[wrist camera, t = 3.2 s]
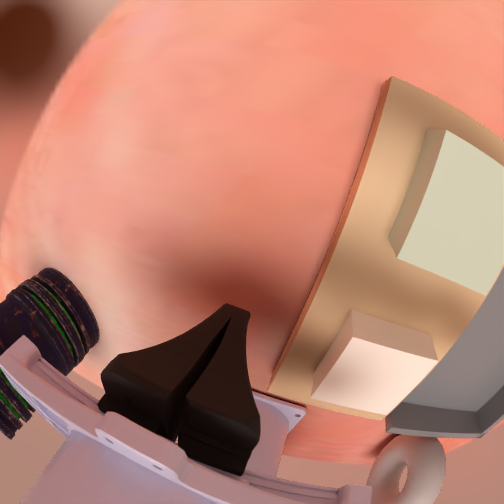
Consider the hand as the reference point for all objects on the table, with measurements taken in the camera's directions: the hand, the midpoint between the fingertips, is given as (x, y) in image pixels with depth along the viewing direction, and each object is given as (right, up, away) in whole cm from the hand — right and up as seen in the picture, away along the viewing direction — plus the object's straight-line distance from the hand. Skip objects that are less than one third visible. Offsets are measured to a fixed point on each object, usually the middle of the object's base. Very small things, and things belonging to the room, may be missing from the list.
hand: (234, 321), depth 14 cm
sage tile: (+10, +5, -5) cm, 12 cm away
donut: (+15, -14, +6) cm, 22 cm away
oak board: (+9, +2, 0) cm, 9 cm away
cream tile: (+7, -2, 0) cm, 8 cm away
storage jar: (-18, -2, +10) cm, 21 cm away
